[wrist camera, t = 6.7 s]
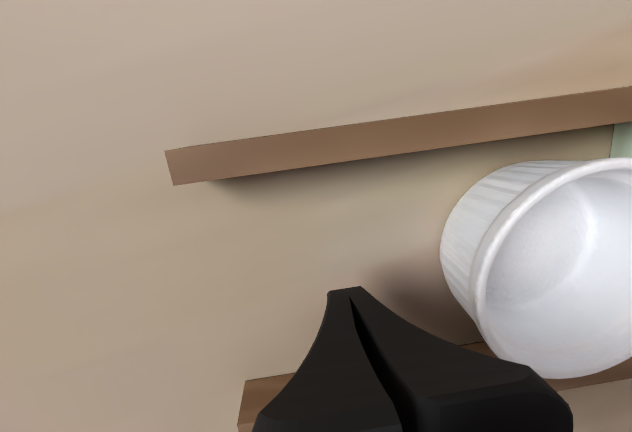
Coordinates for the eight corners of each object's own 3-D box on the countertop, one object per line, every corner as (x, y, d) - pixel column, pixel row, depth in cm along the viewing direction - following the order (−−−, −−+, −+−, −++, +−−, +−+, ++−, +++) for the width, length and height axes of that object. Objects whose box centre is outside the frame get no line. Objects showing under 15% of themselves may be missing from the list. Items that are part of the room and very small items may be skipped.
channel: (604, 339, 17) (655, 374, 15) (249, 399, 17) (242, 445, 14) (645, 84, 13) (722, 74, 11) (188, 146, 13) (164, 150, 10)
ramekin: (602, 128, 14) (732, 129, 10) (596, 295, 17) (698, 351, 12) (414, 175, 14) (466, 194, 10) (437, 335, 16) (486, 404, 12)
